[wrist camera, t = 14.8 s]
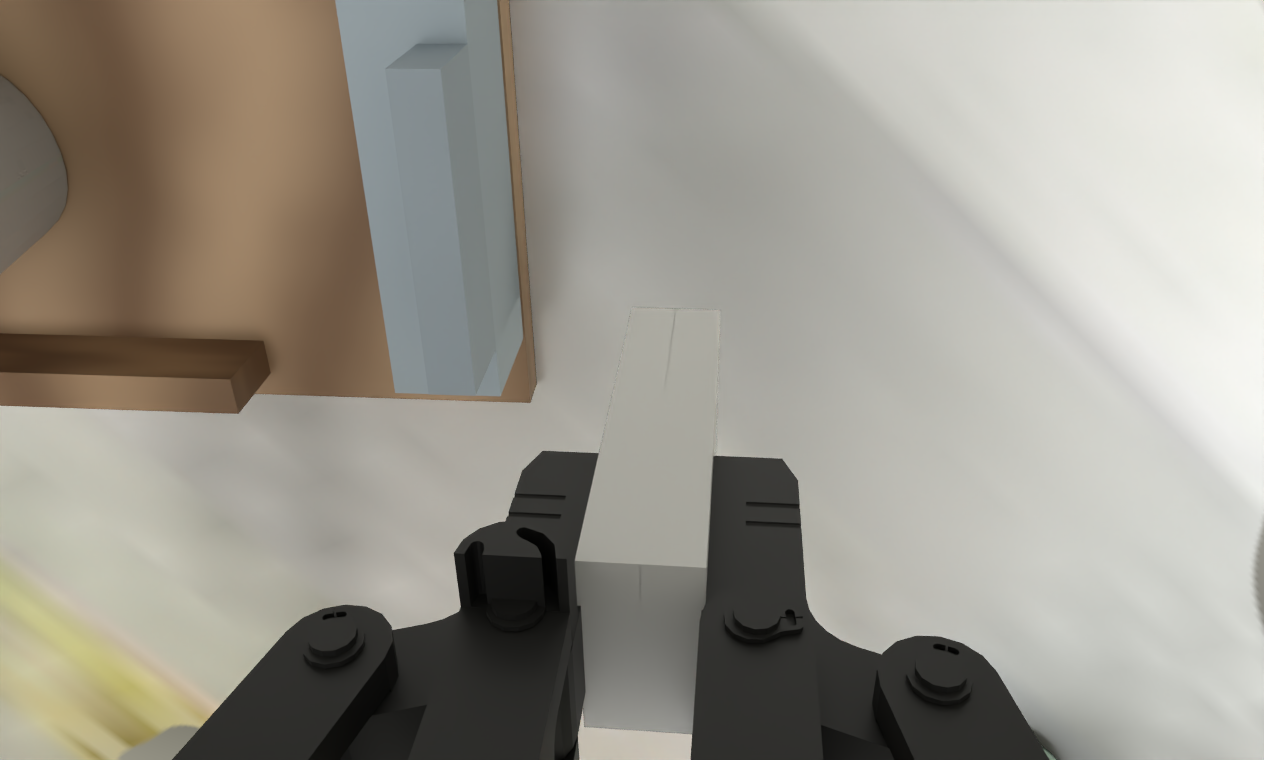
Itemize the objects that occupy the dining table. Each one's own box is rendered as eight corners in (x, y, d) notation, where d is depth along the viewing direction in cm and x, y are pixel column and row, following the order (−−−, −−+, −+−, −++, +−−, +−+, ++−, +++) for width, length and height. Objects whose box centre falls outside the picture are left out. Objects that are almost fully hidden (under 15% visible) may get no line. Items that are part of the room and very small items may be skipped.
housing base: (-137, 363, 36) (-222, 418, 33) (-364, -148, 28) (-507, -140, 25) (536, 384, 34) (515, 445, 31) (497, -160, 26) (463, -154, 23)
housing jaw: (427, 335, 32) (367, 442, 26) (378, -46, 26) (289, -6, 21) (523, 338, 31) (480, 446, 26) (493, -47, 26) (432, -7, 21)
